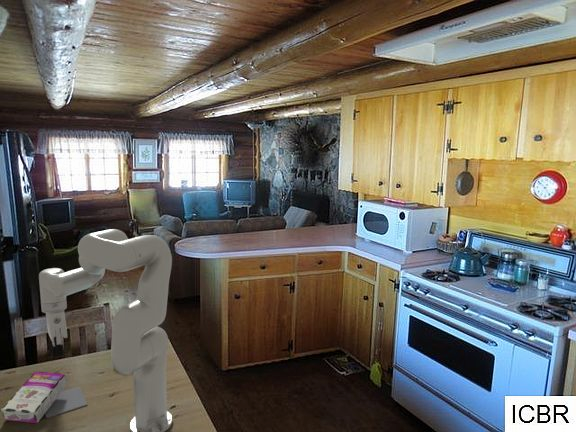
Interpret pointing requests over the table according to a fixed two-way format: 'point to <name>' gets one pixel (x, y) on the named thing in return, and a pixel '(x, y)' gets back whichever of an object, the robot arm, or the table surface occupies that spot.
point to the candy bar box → (34, 397)
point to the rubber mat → (67, 402)
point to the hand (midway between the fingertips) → (57, 355)
